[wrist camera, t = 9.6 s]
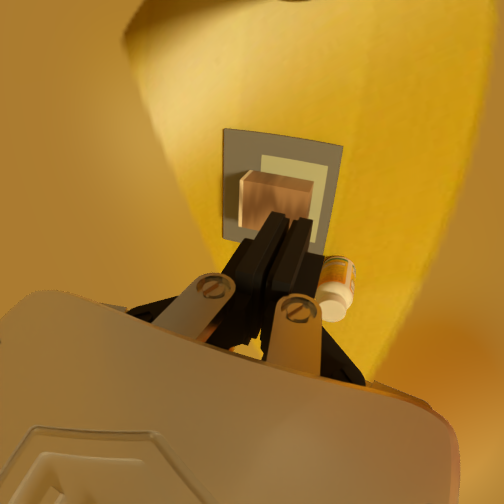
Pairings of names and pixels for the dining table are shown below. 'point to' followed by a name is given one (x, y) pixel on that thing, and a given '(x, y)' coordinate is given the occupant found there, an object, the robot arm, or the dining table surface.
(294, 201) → the walnut block
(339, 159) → the slate mat
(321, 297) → the supplement bottle
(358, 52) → the dining table surface
